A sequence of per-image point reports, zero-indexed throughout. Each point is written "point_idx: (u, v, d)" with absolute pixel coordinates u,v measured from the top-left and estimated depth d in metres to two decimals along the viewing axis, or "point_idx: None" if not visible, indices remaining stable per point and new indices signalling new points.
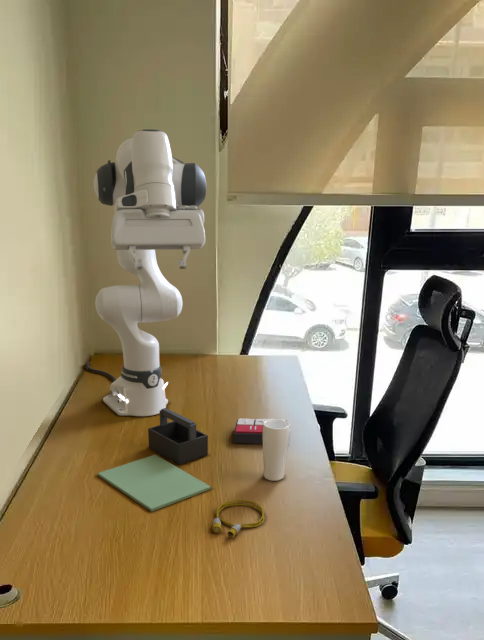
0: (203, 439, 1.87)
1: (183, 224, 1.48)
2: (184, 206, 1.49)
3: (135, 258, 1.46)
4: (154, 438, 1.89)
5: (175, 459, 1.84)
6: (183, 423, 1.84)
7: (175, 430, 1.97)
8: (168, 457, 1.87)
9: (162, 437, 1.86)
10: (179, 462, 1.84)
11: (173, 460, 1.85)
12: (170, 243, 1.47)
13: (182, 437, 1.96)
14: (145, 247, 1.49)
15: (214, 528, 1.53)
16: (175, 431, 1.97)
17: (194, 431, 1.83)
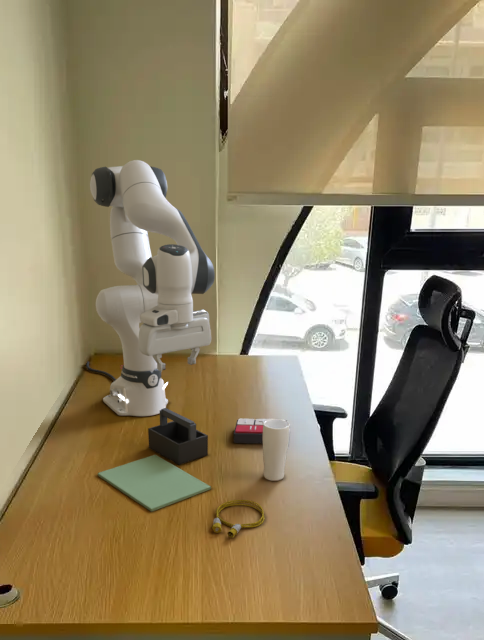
0: (203, 439, 1.87)
1: (196, 330, 1.76)
2: (196, 312, 1.76)
3: (161, 363, 1.73)
4: (154, 438, 1.89)
5: (175, 459, 1.84)
6: (183, 423, 1.84)
7: (175, 430, 1.97)
8: (168, 457, 1.87)
9: (162, 437, 1.86)
10: (179, 462, 1.84)
11: (173, 460, 1.85)
12: (187, 348, 1.76)
13: (182, 437, 1.96)
14: None
15: (214, 528, 1.53)
16: (175, 431, 1.97)
17: (194, 431, 1.83)
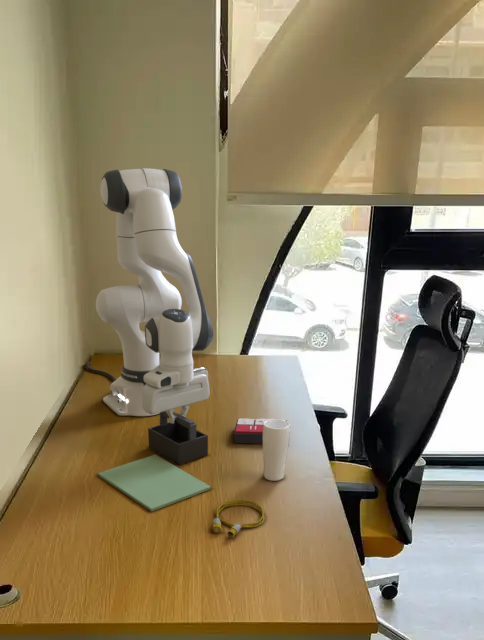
0: (203, 439, 1.87)
1: (196, 387, 1.86)
2: (196, 370, 1.85)
3: (173, 417, 1.85)
4: (154, 438, 1.89)
5: (175, 459, 1.84)
6: (183, 423, 1.84)
7: (175, 430, 1.97)
8: (168, 457, 1.87)
9: (162, 437, 1.86)
10: (179, 462, 1.84)
11: (173, 460, 1.85)
12: (187, 404, 1.86)
13: (182, 437, 1.96)
14: None
15: (214, 528, 1.53)
16: (175, 431, 1.97)
17: (194, 431, 1.83)
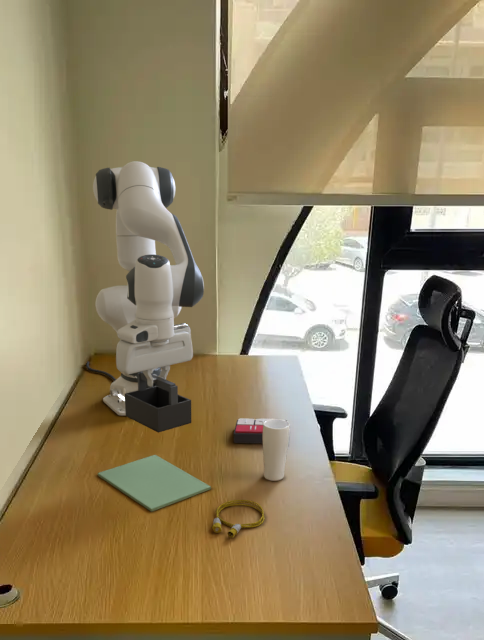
0: (186, 404, 1.66)
1: (177, 346, 1.65)
2: (177, 326, 1.65)
3: (151, 379, 1.64)
4: (131, 404, 1.69)
5: (154, 426, 1.64)
6: (163, 385, 1.64)
7: (155, 397, 1.76)
8: (146, 424, 1.66)
9: (140, 402, 1.66)
10: (159, 429, 1.63)
11: (152, 427, 1.65)
12: (168, 364, 1.65)
13: (163, 404, 1.75)
14: None
15: (214, 528, 1.53)
16: (155, 398, 1.76)
17: (175, 394, 1.63)
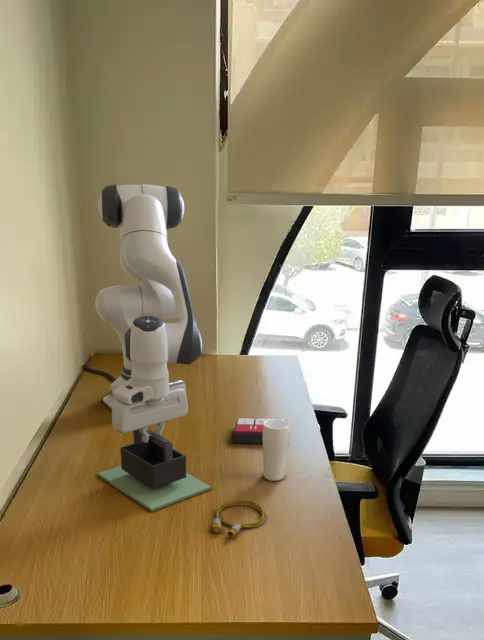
0: (180, 460, 1.69)
1: (172, 402, 1.68)
2: (172, 383, 1.67)
3: (147, 435, 1.67)
4: (127, 458, 1.71)
5: (149, 482, 1.66)
6: (158, 442, 1.66)
7: (151, 449, 1.79)
8: (142, 480, 1.69)
9: (135, 458, 1.68)
10: (153, 486, 1.66)
11: (147, 483, 1.67)
12: (163, 421, 1.68)
13: (159, 457, 1.78)
14: None
15: (214, 528, 1.53)
16: (151, 450, 1.79)
17: (170, 451, 1.65)
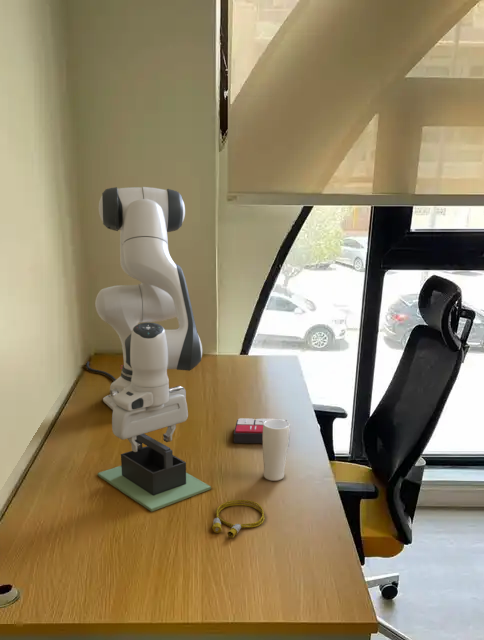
0: (181, 467, 1.69)
1: (172, 408, 1.68)
2: (172, 389, 1.68)
3: (135, 445, 1.65)
4: (127, 465, 1.72)
5: (149, 489, 1.67)
6: (158, 449, 1.67)
7: (151, 455, 1.80)
8: (142, 486, 1.69)
9: (135, 464, 1.69)
10: (154, 492, 1.66)
11: (147, 490, 1.68)
12: (163, 427, 1.68)
13: (159, 463, 1.79)
14: None
15: (214, 528, 1.53)
16: (151, 456, 1.80)
17: (170, 458, 1.66)
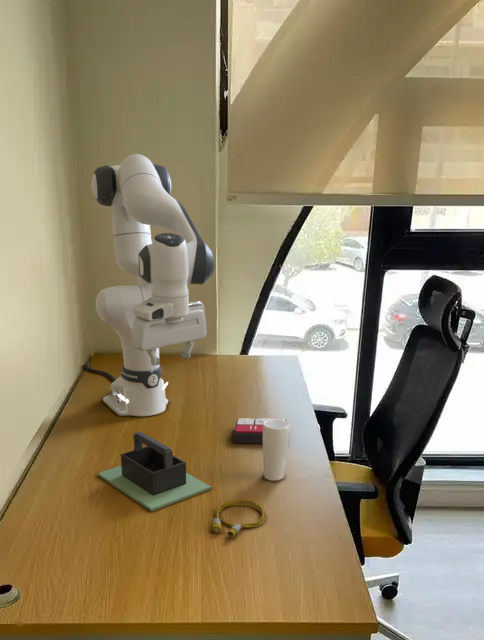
0: (181, 467, 1.69)
1: (191, 323, 1.69)
2: (191, 304, 1.68)
3: (155, 358, 1.66)
4: (127, 465, 1.72)
5: (149, 489, 1.67)
6: (158, 449, 1.67)
7: (151, 455, 1.80)
8: (142, 486, 1.69)
9: (135, 464, 1.69)
10: (154, 492, 1.66)
11: (147, 490, 1.68)
12: (182, 342, 1.69)
13: (159, 463, 1.79)
14: None
15: (214, 528, 1.53)
16: (151, 456, 1.80)
17: (170, 458, 1.66)
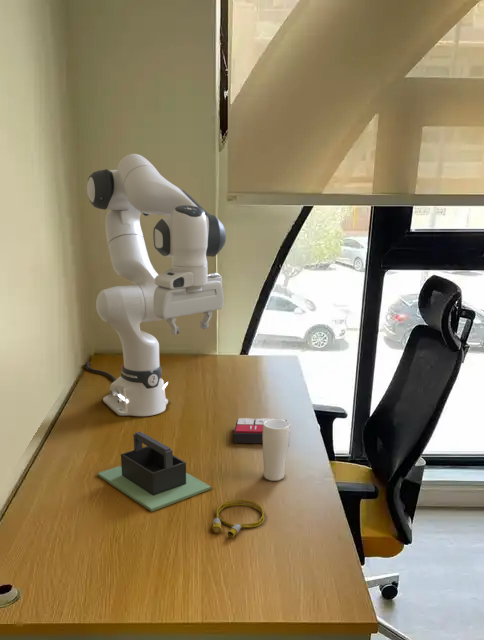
0: (181, 467, 1.69)
1: (210, 294, 1.75)
2: (210, 275, 1.75)
3: (175, 327, 1.72)
4: (127, 465, 1.72)
5: (149, 489, 1.67)
6: (158, 449, 1.67)
7: (151, 455, 1.80)
8: (142, 486, 1.69)
9: (135, 464, 1.69)
10: (154, 492, 1.66)
11: (147, 490, 1.68)
12: (201, 311, 1.75)
13: (159, 463, 1.79)
14: None
15: (214, 528, 1.53)
16: (151, 456, 1.80)
17: (170, 458, 1.66)
